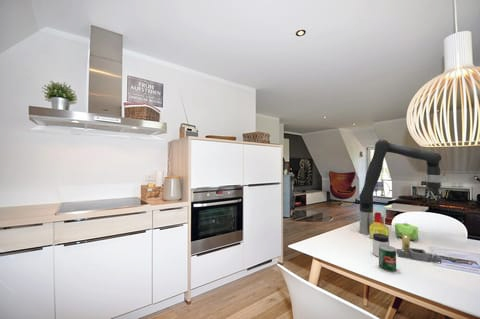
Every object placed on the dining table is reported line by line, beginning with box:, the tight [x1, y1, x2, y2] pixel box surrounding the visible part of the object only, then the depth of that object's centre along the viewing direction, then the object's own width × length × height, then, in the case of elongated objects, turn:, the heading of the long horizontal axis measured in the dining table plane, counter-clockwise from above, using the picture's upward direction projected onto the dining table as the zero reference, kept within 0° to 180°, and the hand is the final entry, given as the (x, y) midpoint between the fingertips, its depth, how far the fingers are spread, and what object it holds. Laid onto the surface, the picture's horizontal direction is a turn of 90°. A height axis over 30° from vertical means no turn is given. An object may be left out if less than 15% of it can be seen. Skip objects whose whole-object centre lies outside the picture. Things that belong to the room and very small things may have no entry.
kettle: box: [392, 222, 419, 241], centre depth 159 cm, size 15×14×11 cm
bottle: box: [369, 211, 390, 239], centre depth 157 cm, size 12×6×20 cm, turn 44°
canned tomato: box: [378, 245, 397, 273], centre depth 117 cm, size 8×8×11 cm
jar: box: [372, 234, 390, 258], centre depth 132 cm, size 9×8×12 cm
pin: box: [401, 235, 411, 250], centre depth 137 cm, size 4×4×10 cm
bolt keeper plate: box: [395, 247, 443, 264], centre depth 128 cm, size 20×8×4 cm, turn 63°
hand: (433, 204), depth 150 cm, fingers open, 8 cm apart
